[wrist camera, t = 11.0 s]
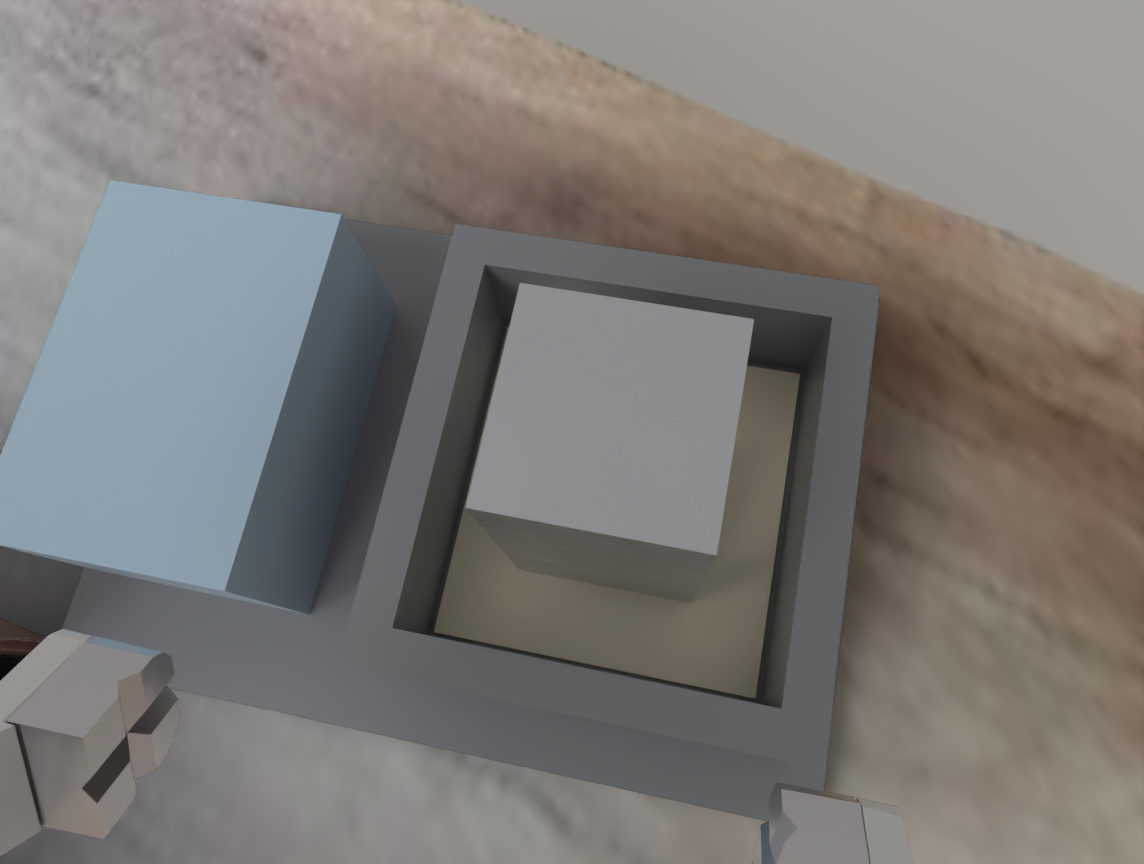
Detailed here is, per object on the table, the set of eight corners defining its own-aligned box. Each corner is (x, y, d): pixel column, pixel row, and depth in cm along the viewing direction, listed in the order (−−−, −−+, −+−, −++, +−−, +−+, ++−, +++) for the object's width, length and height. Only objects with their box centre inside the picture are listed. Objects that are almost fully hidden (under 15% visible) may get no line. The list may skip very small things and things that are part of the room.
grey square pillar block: (518, 569, 23) (465, 507, 16) (554, 407, 24) (520, 282, 17) (691, 603, 22) (716, 555, 15) (718, 436, 24) (753, 319, 16)
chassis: (78, 663, 24) (-101, 649, 18) (232, 220, 28) (125, 92, 22) (809, 826, 22) (873, 870, 16) (869, 316, 26) (937, 200, 20)
